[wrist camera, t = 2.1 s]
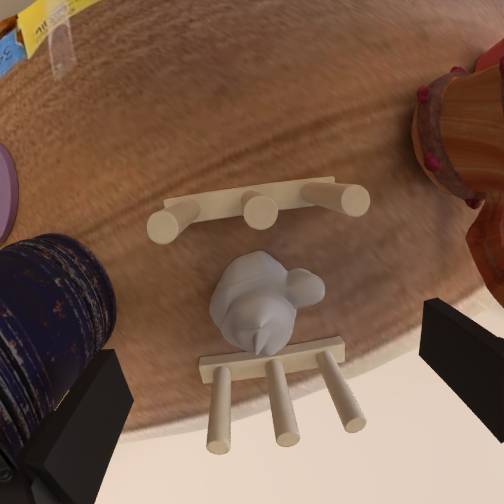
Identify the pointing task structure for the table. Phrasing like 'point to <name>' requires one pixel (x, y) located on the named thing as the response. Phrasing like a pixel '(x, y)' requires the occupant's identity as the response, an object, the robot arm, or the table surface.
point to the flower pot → (491, 57)
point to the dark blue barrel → (47, 327)
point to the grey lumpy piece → (261, 302)
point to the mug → (468, 156)
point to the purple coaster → (7, 193)
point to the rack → (291, 356)
